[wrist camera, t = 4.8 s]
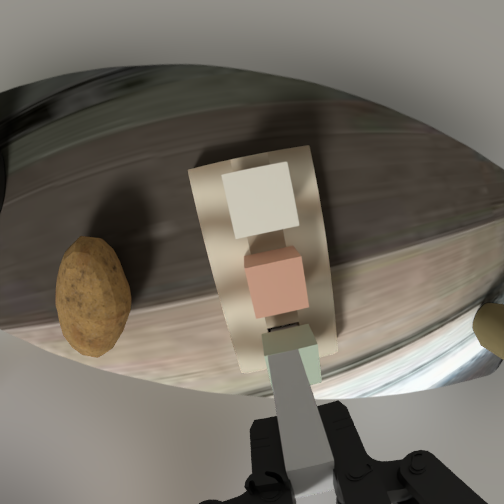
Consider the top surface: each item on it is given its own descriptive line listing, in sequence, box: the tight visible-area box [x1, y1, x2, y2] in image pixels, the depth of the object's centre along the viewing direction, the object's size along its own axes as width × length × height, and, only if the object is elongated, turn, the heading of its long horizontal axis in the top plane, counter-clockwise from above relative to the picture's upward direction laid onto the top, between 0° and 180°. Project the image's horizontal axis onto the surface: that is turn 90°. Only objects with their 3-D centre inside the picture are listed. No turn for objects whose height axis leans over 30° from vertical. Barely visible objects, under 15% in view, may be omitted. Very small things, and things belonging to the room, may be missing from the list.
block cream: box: [221, 162, 299, 239], centre depth 24 cm, size 5×5×6 cm
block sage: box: [261, 324, 322, 390], centre depth 28 cm, size 5×5×6 cm
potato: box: [56, 236, 131, 358], centre depth 27 cm, size 10×14×8 cm
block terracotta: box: [244, 246, 309, 319], centre depth 28 cm, size 5×5×6 cm
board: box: [188, 145, 338, 374], centre depth 30 cm, size 24×12×2 cm, turn 12°
